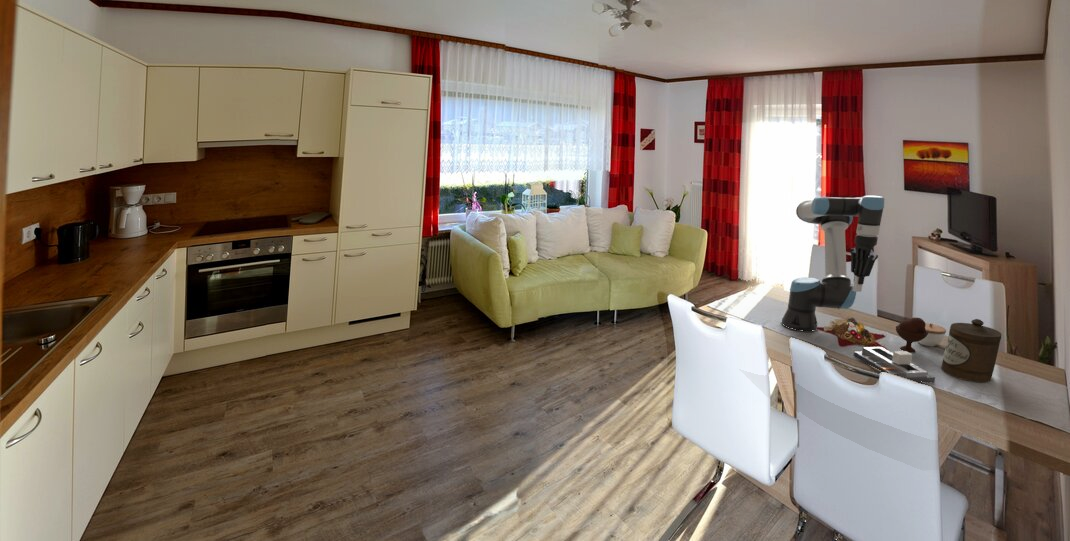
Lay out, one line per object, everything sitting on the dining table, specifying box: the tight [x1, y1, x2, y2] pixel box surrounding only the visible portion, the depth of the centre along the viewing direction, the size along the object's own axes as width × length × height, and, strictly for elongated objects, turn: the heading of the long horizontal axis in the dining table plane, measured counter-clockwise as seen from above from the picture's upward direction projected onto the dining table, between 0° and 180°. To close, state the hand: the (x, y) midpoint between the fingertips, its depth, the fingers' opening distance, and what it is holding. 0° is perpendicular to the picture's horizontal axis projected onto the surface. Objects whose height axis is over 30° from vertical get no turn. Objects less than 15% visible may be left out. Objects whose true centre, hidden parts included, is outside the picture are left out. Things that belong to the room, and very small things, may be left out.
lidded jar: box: [918, 322, 947, 347], centre depth 216 cm, size 11×11×9 cm
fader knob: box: [892, 350, 913, 370], centre depth 189 cm, size 3×5×6 cm
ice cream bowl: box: [895, 317, 929, 354], centre depth 209 cm, size 11×11×15 cm
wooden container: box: [940, 318, 1002, 383], centre depth 187 cm, size 15×15×22 cm
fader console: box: [853, 346, 936, 384], centre depth 194 cm, size 24×14×4 cm, turn 4°
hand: (856, 291), depth 204 cm, fingers closed
